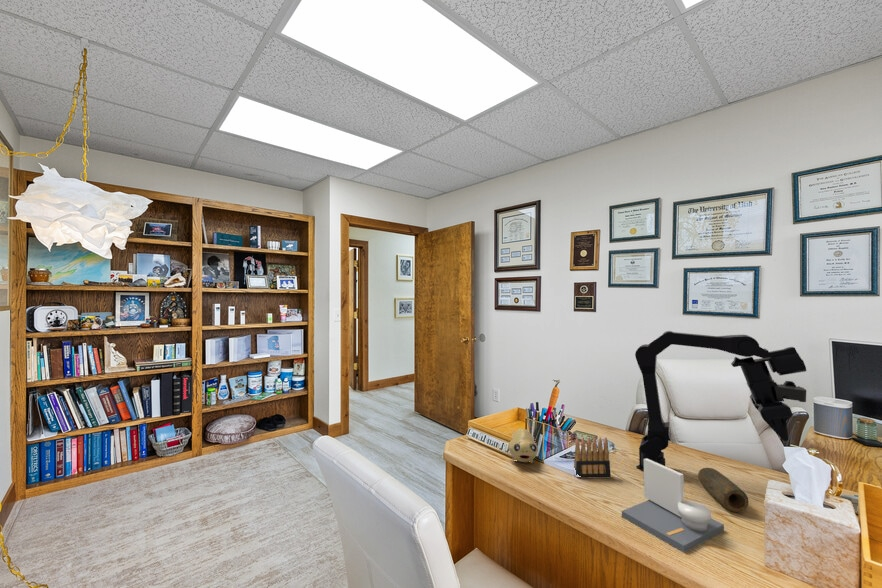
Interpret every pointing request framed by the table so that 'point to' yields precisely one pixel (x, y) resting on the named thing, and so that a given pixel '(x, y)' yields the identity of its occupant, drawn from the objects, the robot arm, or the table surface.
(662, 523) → the base board
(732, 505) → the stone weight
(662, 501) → the white piece
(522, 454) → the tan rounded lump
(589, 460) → the ammunition clip
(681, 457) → the table surface
